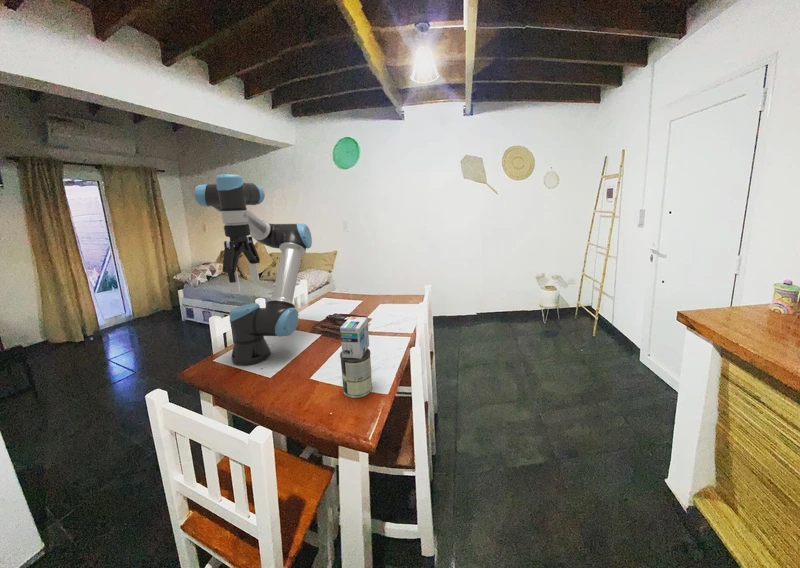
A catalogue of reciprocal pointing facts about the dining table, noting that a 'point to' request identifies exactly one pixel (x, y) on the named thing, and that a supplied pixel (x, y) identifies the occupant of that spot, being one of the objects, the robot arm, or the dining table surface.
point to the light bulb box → (354, 337)
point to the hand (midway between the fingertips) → (246, 286)
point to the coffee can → (356, 375)
